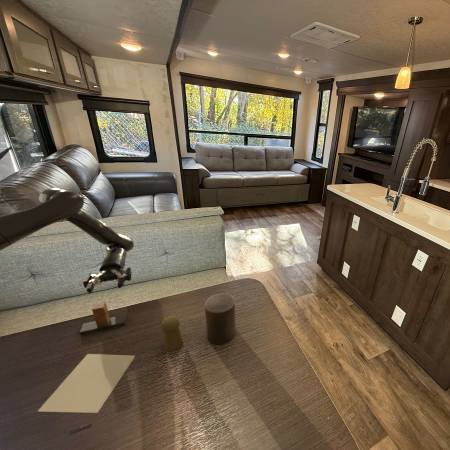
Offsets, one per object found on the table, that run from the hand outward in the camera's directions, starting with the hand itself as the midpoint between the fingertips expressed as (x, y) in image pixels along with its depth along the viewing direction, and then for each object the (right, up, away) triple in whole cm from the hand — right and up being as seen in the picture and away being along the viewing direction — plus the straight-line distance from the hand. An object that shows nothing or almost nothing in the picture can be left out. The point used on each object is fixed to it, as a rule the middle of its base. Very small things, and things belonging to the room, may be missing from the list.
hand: (104, 288), depth 88 cm
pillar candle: (+42, -16, -1) cm, 45 cm away
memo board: (+13, -21, -20) cm, 32 cm away
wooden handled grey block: (+3, -13, -3) cm, 14 cm away
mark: (+19, -25, -30) cm, 43 cm away
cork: (+28, -17, -7) cm, 34 cm away
